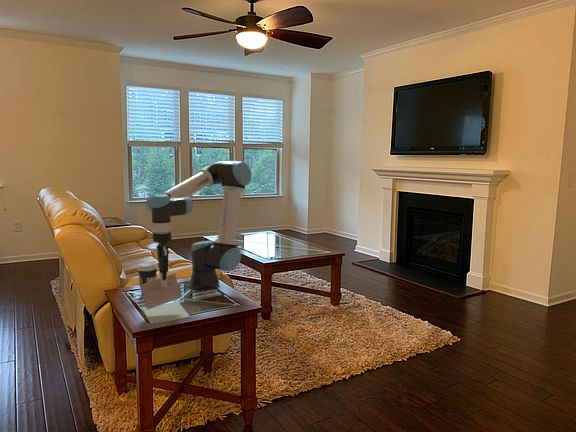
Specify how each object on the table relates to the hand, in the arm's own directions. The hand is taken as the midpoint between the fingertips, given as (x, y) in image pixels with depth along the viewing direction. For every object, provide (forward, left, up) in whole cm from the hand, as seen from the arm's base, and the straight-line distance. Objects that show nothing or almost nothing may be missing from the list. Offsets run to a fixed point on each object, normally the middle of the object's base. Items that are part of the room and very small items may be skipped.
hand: (164, 286), depth 189 cm
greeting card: (+3, -9, -4) cm, 10 cm away
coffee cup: (-29, -2, -12) cm, 31 cm away
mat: (0, 0, -12) cm, 12 cm away
